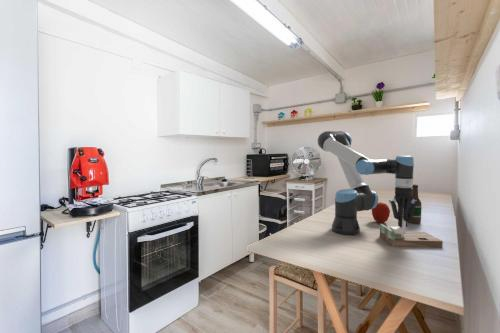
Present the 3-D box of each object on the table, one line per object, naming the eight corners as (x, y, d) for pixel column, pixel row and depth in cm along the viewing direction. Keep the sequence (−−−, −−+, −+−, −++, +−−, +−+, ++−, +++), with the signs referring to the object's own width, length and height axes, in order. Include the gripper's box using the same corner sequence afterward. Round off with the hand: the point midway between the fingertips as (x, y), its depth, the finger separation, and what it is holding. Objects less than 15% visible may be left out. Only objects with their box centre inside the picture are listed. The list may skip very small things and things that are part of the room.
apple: (391, 222, 154) (392, 200, 153) (386, 225, 147) (386, 203, 146) (374, 219, 162) (375, 198, 161) (368, 222, 155) (369, 200, 154)
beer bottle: (419, 224, 148) (420, 186, 147) (404, 222, 154) (405, 184, 153) (422, 222, 154) (424, 184, 152) (408, 219, 159) (409, 183, 158)
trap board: (379, 236, 129) (379, 223, 129) (424, 237, 128) (425, 224, 127) (392, 246, 116) (392, 232, 116) (442, 247, 115) (443, 232, 114)
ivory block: (389, 234, 125) (389, 226, 124) (398, 234, 124) (398, 226, 124) (394, 237, 120) (394, 229, 120) (403, 237, 120) (403, 229, 119)
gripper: (394, 187, 117) (392, 235, 119) (422, 187, 116) (420, 235, 118) (386, 185, 125) (385, 230, 126) (412, 185, 124) (411, 230, 125)
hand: (402, 232), depth 122 cm, fingers closed
